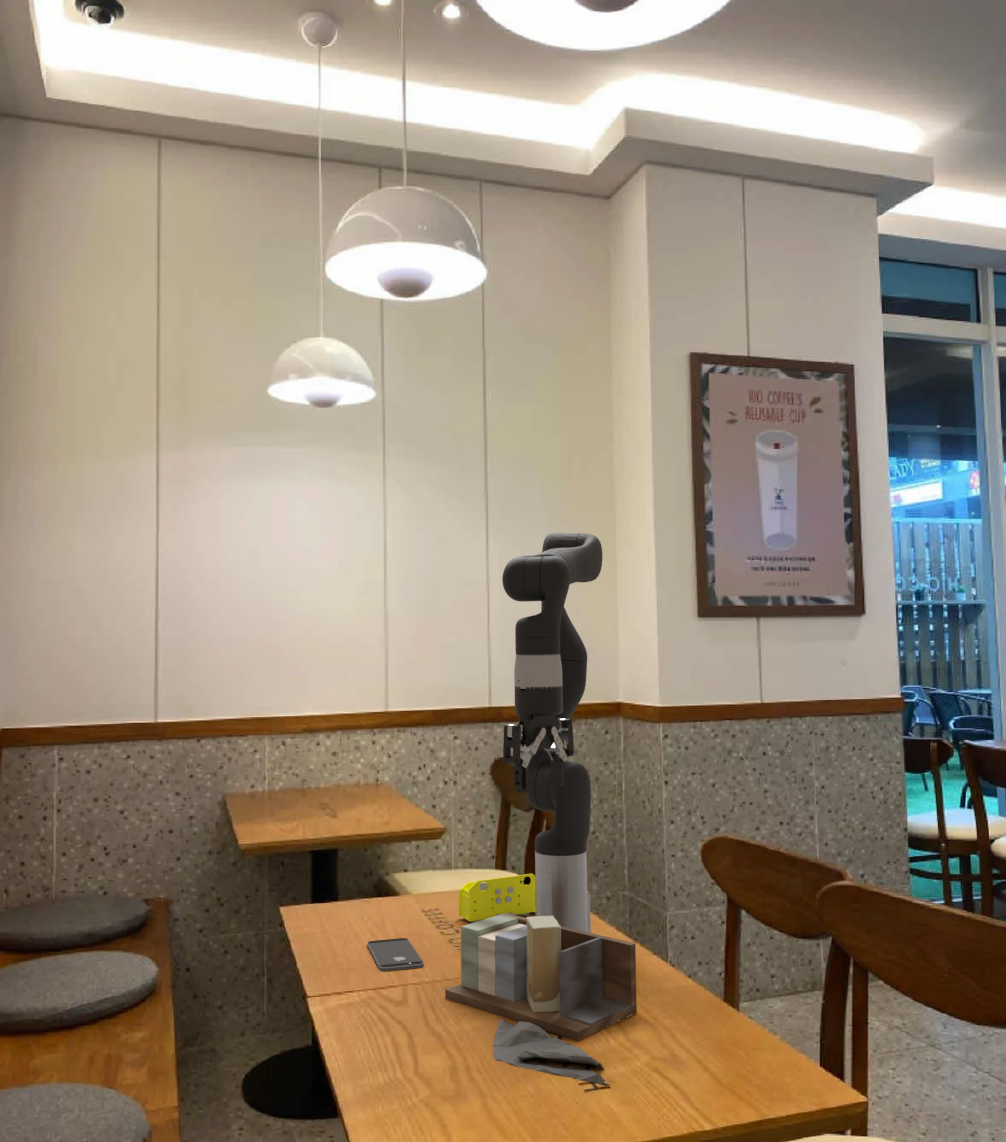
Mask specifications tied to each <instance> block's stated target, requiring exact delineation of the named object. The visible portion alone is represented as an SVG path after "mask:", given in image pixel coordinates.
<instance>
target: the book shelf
mask: <svg viewBox="0 0 1006 1142" xmlns="http://www.w3.org/2000/svg"><path fill="white" fill-rule="evenodd" d="M560 927H561V951H560V952H559V986H560V1011H553V1012H535V1013H534V1012H533V1011H532V1009H531V1007H530V1005H529V1003H528V1000H527V920H526V917H525V916H519V915H511V914H507V913H504V914H501V915H498V916H494V917H491V918H488V919H484V920H481V921H478V922H471V923H468V924H465V925H462V926H460V956H461V957H460V964H461V965H460V966H461V967H460V968H461V969H460V978H461V979H460V981H461V983H460V984H457V985H455V986H452V987H449V988H446V989H445V990H444V991H445V992H444V997H445V998H446V999H448V1000H452V1001H454V1002H458V1003H460V1004H463V1005H466V1006H470V1007H473V1008H476V1009H478V1010H479V1009H480V1010H482V1011H486V1012H488V1013H490V1014H493V1015H494V1014H495V1015H497V1016H500V1017H503V1018H507V1019H509V1020H513V1021H516V1022H519V1021H521V1022H530V1023H533V1024H535V1025H537V1026H539V1027H540V1028H542V1029H543V1030H544V1031H545V1032H550V1033H551V1034H552V1033H553V1034H556V1035H559V1036H562V1037H565V1038H568V1039H570V1040H573V1041H576V1042H579V1041H581V1040H582V1039H585V1038H586V1037H589V1036H591V1035H593V1034H595V1033H597V1032H599V1031H601V1029H602V1030H604V1029H606V1028H608V1027H610V1026H612V1025H614V1024H616V1023H618V1022H619V1021H618V1020H621V1021H623V1020H625V1019H626V1018H625V1017H627V1016H629V1015H631V1014H633V1015H635V1014H637V1013H636V1012H638V1011H637V1008H638V1007H637V966H636V965H637V962H636V957H637V956H636V943H635V942H631V941H627V940H623V939H617V938H613V937H609V936H605V935H601V934H595V933H592V932H591V933H589V932H584V931H580V930H576V929H571V928H567V927H563V926H560ZM634 1013H635V1014H634ZM631 1016H632V1015H631ZM629 1017H630V1016H629ZM624 1018H625V1019H624ZM627 1018H628V1017H627ZM622 1019H623V1020H622ZM617 1021H618V1022H617ZM615 1022H616V1023H615ZM613 1023H614V1024H613ZM607 1026H608V1027H607ZM605 1027H606V1028H605ZM603 1028H604V1029H603Z"/></svg>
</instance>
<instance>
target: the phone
mask: <svg viewBox="0 0 1006 1142" xmlns="http://www.w3.org/2000/svg"><path fill="white" fill-rule="evenodd" d="M366 946H367V947H366V948H368V950H370V951H369V952H370V954H371V957H372V958H373V961H374V963H375V965H376V966H377V969H378V970H379V971H382V972H390V971H399V970H400V971H402V970H412V969H420V968H423V967H424V966H425V965H424V964H425V963H424V961H423V959H422V957H421V956H420V955H419V954H418V952H417V950H416V949H415V948H414V946H413V945H412V943H411V942H410V940H409V938H407V937H405V938H404V937H402V938H401V937H400V938H399V937H398V938H390V939H389V938H387V939H380V940H379V939H377V940H370V941H368V942H367V943H366Z"/></svg>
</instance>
